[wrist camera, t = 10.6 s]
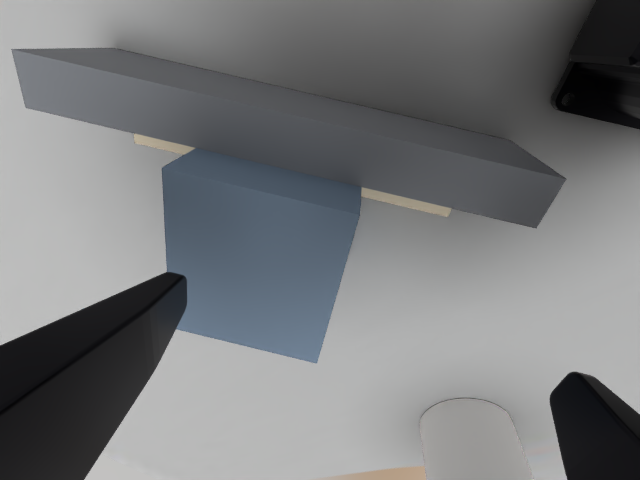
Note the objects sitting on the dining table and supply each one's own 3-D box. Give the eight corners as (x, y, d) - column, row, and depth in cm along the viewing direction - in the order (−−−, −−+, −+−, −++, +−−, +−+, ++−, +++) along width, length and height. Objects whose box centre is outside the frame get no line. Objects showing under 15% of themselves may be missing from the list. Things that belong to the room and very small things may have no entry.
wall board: (510, 140, 16) (566, 178, 12) (476, 209, 18) (513, 266, 14) (113, 48, 17) (11, 49, 12) (121, 125, 19) (36, 153, 14)
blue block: (364, 148, 18) (360, 215, 11) (331, 272, 22) (313, 376, 15) (243, 120, 18) (161, 167, 11) (233, 248, 22) (170, 341, 15)
